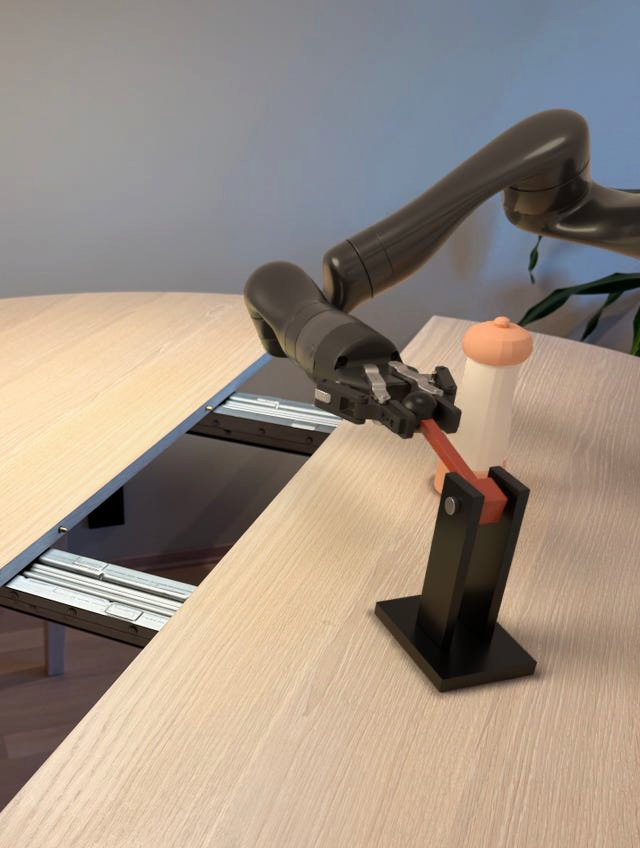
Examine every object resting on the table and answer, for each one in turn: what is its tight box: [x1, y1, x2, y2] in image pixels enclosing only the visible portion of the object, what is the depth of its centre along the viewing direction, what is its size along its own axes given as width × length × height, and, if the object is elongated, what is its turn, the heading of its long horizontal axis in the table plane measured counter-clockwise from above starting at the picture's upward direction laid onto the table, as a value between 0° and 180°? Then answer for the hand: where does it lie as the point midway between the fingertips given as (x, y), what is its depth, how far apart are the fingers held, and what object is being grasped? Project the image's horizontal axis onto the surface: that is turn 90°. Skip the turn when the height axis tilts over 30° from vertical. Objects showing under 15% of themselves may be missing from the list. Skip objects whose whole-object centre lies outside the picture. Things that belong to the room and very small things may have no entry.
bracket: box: [373, 466, 538, 693], centre depth 82 cm, size 12×9×16 cm
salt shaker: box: [433, 316, 534, 495], centre depth 105 cm, size 7×7×19 cm
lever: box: [399, 391, 508, 525], centre depth 82 cm, size 15×4×4 cm, turn 16°
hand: (432, 425), depth 84 cm, fingers closed on lever, 3 cm apart
